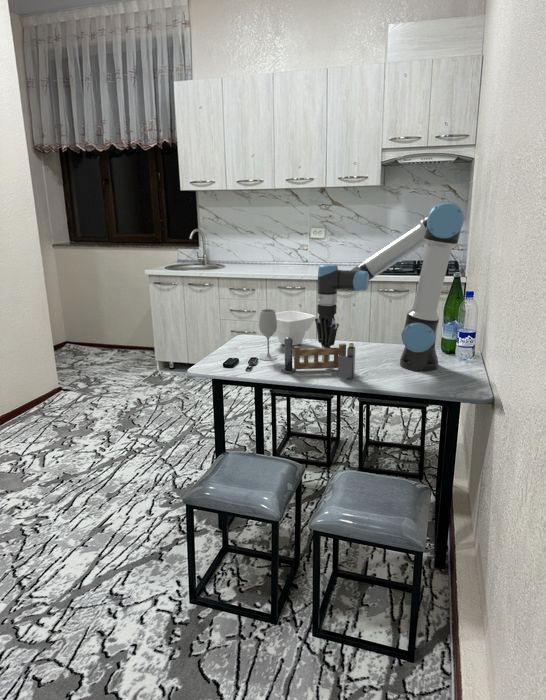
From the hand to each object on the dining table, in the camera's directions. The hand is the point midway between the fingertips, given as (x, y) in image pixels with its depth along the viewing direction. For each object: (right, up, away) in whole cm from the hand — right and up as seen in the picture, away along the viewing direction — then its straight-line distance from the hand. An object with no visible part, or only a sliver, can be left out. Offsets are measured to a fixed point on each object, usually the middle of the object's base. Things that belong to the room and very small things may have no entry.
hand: (325, 360), depth 212 cm
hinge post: (-15, -4, -4) cm, 16 cm away
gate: (-3, -3, -4) cm, 5 cm away
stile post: (+6, -6, -13) cm, 16 cm away
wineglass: (-23, +1, +13) cm, 27 cm away
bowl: (-13, +7, +34) cm, 37 cm away
